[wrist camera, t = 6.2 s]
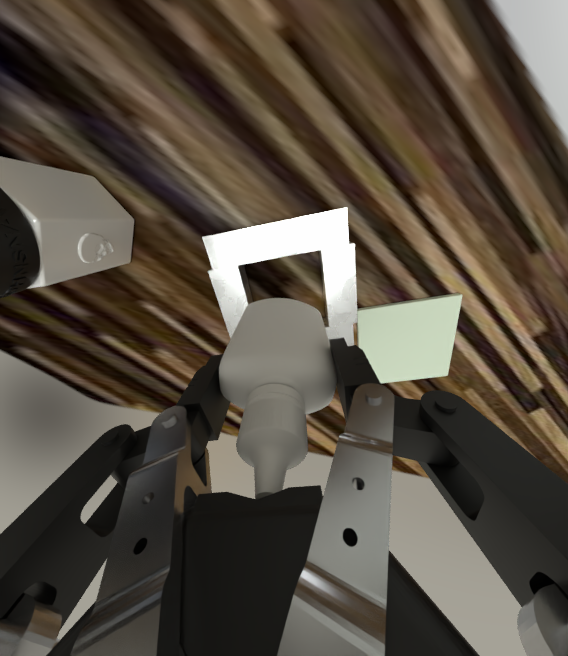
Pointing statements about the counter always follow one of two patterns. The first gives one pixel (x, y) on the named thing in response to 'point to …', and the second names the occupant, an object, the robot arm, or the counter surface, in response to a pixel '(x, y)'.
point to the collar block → (283, 241)
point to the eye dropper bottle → (277, 384)
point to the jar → (57, 226)
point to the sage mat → (409, 337)
